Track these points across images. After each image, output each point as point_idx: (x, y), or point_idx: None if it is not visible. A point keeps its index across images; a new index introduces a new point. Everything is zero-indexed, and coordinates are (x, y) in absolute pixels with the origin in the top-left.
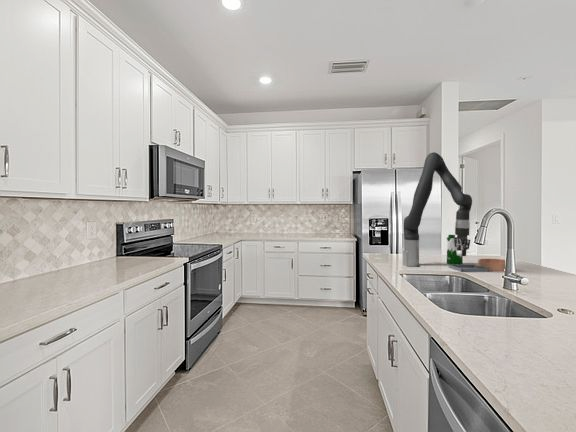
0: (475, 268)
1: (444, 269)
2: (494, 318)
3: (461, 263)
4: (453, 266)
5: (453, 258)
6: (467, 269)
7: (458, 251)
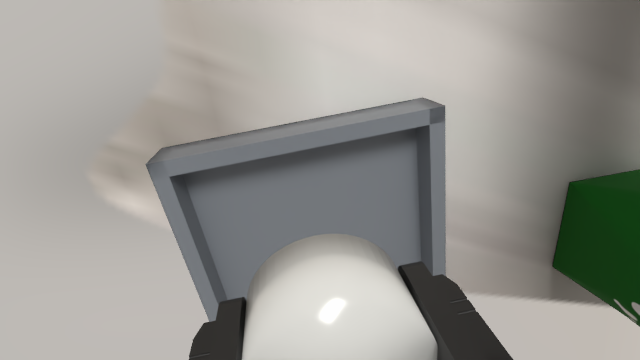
0: None
1: (372, 28)
2: None
3: (566, 269)
4: (331, 126)
5: (631, 231)
6: (172, 224)
7: (289, 313)
